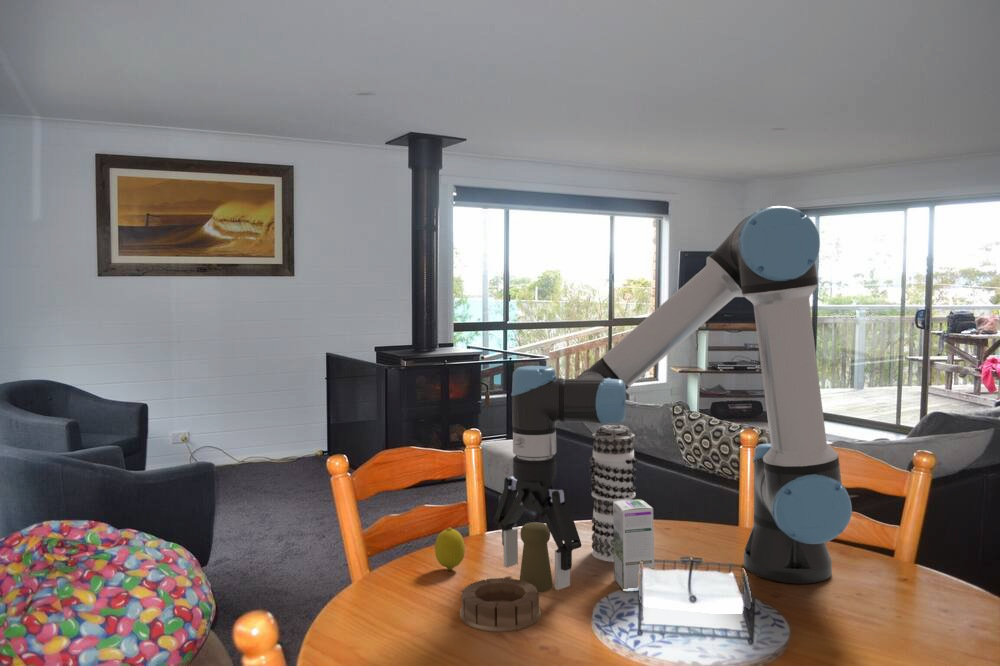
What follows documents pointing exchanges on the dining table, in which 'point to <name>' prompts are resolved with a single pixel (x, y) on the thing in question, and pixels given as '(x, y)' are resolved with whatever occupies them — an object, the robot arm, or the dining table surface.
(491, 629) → the collar
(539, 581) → the olive green knobbed peg
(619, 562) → the syrup box
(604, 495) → the decorative candle
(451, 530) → the lemon
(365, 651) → the dining table surface
